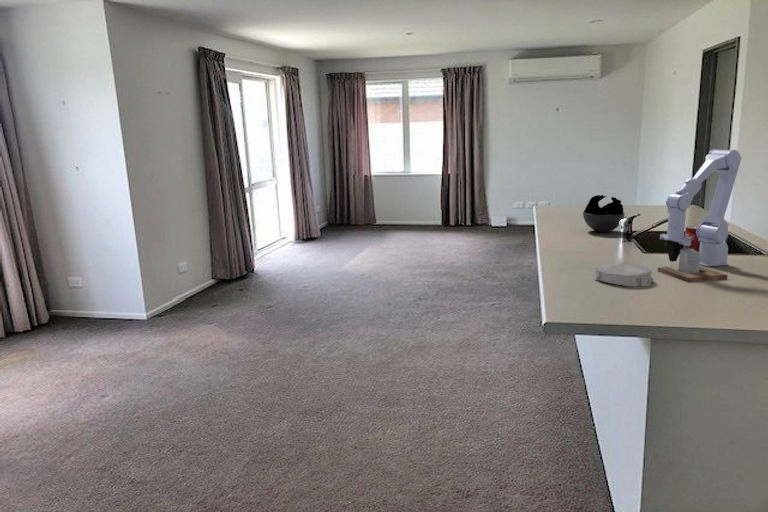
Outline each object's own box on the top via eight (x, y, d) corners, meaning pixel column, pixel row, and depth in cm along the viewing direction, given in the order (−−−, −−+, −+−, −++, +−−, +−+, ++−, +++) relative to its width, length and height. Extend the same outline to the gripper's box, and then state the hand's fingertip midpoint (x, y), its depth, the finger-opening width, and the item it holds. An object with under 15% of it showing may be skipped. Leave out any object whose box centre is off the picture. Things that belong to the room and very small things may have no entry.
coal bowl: (578, 228, 310) (580, 193, 306) (617, 228, 307) (620, 193, 303) (586, 235, 291) (588, 197, 286) (627, 235, 288) (630, 197, 284)
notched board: (695, 268, 220) (695, 264, 220) (727, 278, 205) (727, 274, 205) (657, 271, 217) (657, 267, 217) (687, 282, 202) (687, 277, 202)
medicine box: (698, 276, 209) (701, 253, 207) (685, 276, 210) (688, 252, 208) (690, 271, 217) (692, 248, 215) (678, 271, 217) (680, 248, 215)
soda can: (701, 254, 244) (703, 225, 242) (704, 257, 238) (707, 228, 235) (681, 253, 247) (684, 225, 244) (684, 256, 240) (687, 228, 237)
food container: (617, 290, 195) (618, 271, 194) (582, 275, 214) (583, 258, 212) (666, 286, 200) (668, 266, 199) (628, 271, 219) (629, 254, 217)
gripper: (654, 223, 224) (651, 257, 227) (680, 229, 210) (676, 266, 213) (670, 222, 225) (667, 256, 228) (697, 228, 211) (693, 264, 214)
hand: (672, 261), depth 220 cm, fingers closed
